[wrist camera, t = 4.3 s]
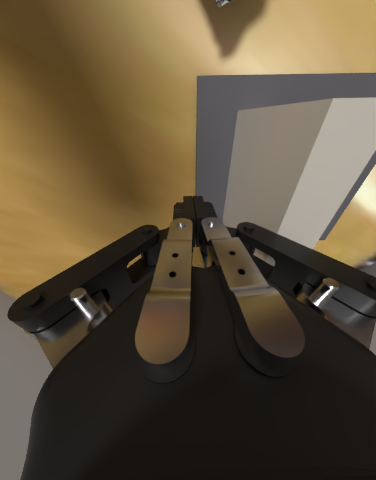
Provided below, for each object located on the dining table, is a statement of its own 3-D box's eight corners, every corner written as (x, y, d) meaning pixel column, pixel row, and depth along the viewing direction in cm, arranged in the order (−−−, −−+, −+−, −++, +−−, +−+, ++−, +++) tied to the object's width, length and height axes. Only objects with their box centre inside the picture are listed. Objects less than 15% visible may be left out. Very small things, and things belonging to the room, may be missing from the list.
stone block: (221, 231, 20) (247, 305, 12) (237, 110, 13) (333, 98, 5) (240, 231, 20) (279, 304, 12) (268, 110, 13) (414, 96, 5)
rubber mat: (195, 242, 21) (195, 244, 21) (197, 76, 12) (197, 75, 11) (322, 238, 22) (324, 239, 22) (430, 73, 12) (437, 71, 12)
